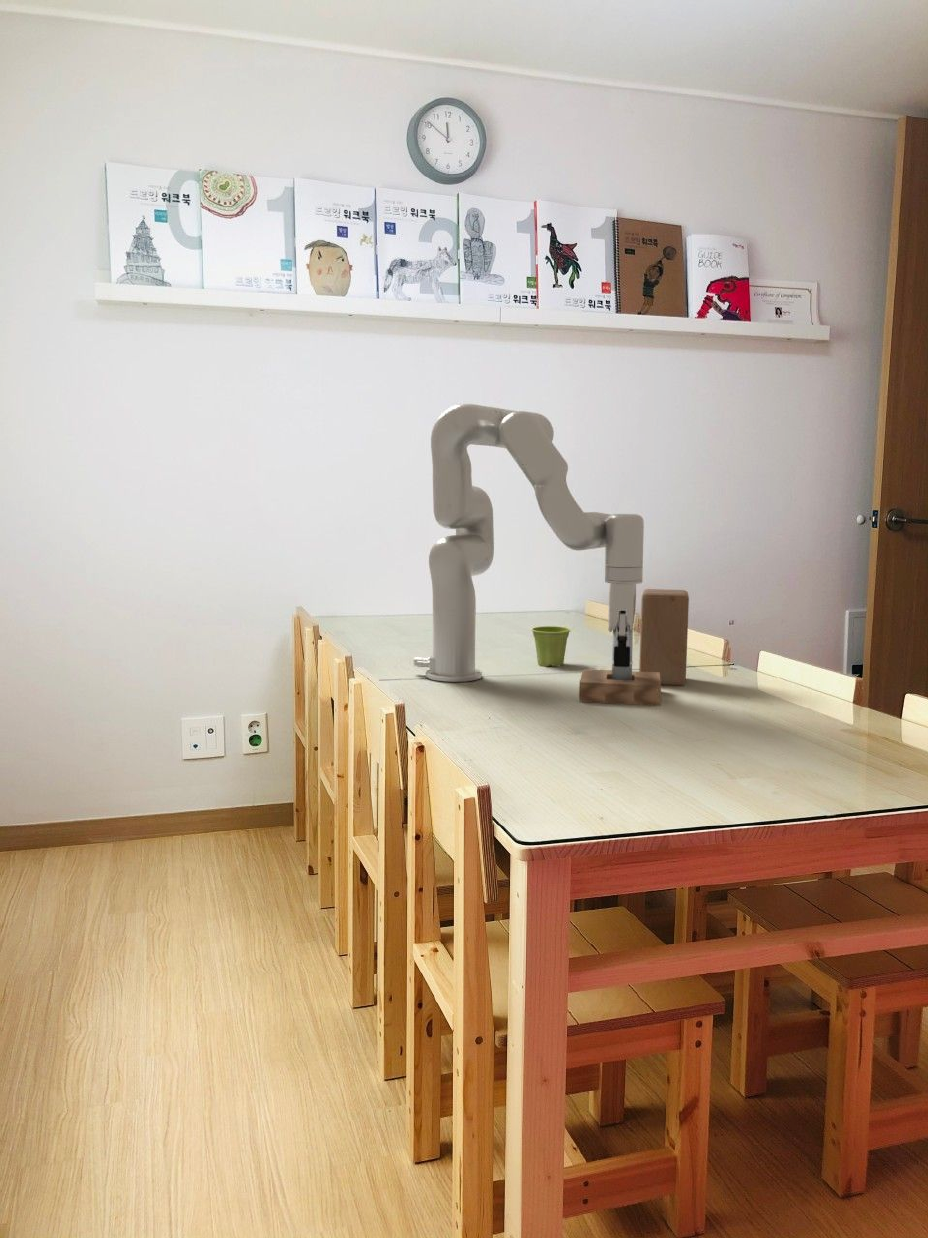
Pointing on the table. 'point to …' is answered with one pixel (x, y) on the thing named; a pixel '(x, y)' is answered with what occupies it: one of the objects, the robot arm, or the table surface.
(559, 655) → the plant pot
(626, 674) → the peg
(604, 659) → the table surface
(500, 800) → the table surface
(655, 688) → the seat block
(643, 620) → the wooden block
